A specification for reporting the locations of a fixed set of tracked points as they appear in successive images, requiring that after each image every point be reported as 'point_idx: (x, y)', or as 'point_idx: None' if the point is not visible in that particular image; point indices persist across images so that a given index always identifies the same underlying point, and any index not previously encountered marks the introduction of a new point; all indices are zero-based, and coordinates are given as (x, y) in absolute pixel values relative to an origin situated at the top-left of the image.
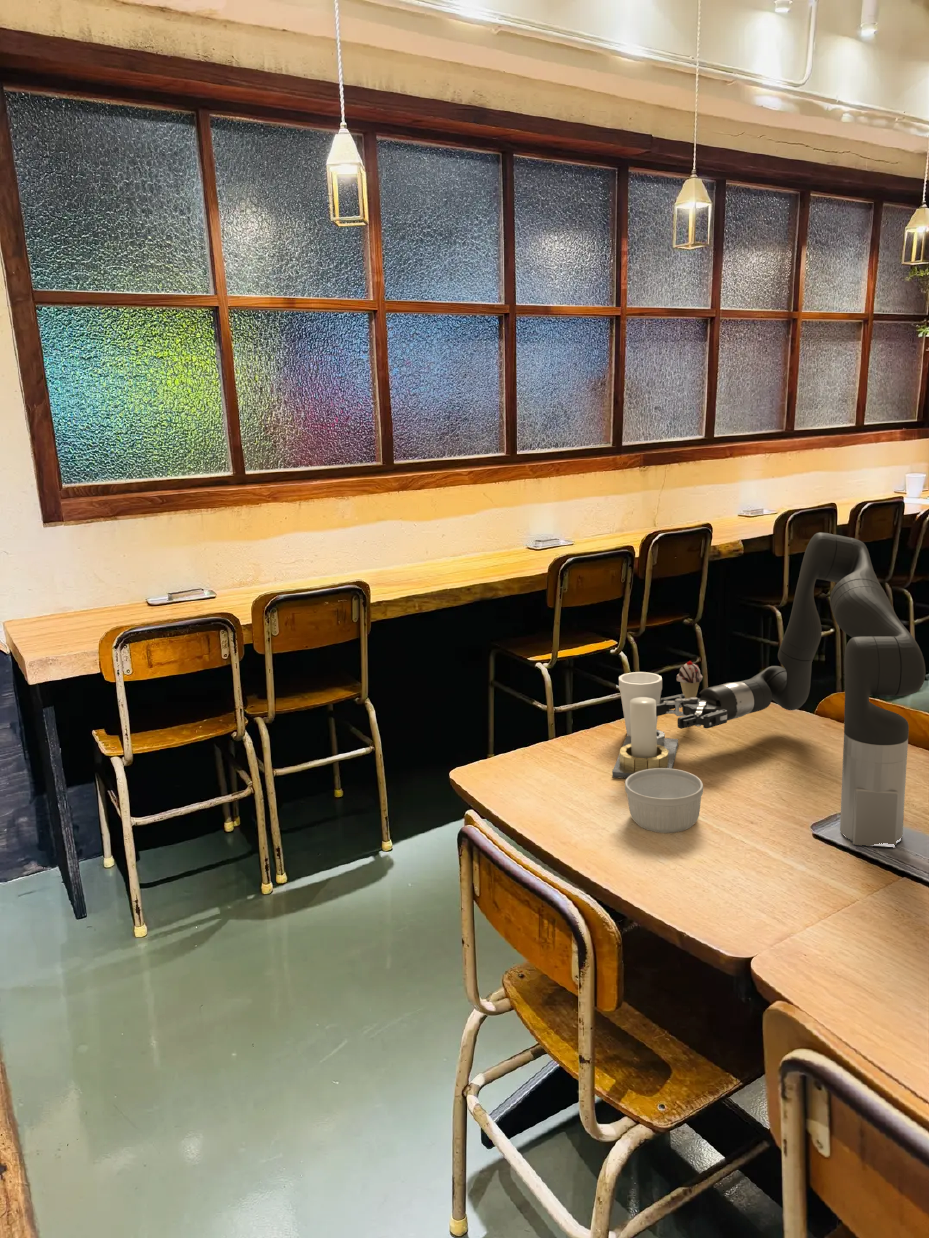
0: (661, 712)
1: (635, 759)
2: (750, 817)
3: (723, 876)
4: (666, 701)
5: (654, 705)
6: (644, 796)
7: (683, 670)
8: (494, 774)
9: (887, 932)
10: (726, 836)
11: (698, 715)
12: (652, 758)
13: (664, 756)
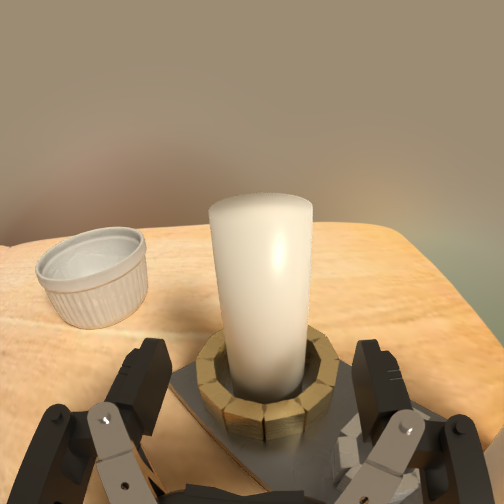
0: (361, 408)
1: None
2: (5, 362)
3: (24, 275)
4: (402, 419)
5: (210, 223)
6: (97, 229)
7: None
8: (370, 241)
9: None
10: (27, 315)
11: (94, 407)
12: (212, 350)
13: (197, 376)
